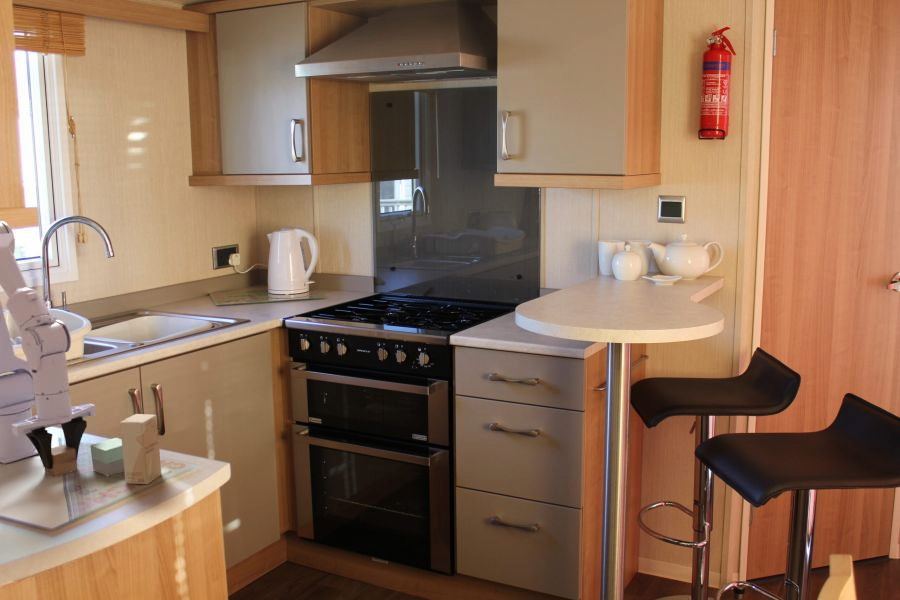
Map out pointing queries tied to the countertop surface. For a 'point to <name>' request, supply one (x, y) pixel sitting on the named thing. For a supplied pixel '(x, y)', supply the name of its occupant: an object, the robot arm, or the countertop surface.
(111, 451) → the slab upper
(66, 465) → the walnut cube
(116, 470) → the slab lower
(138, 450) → the box
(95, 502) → the countertop surface
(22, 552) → the countertop surface
